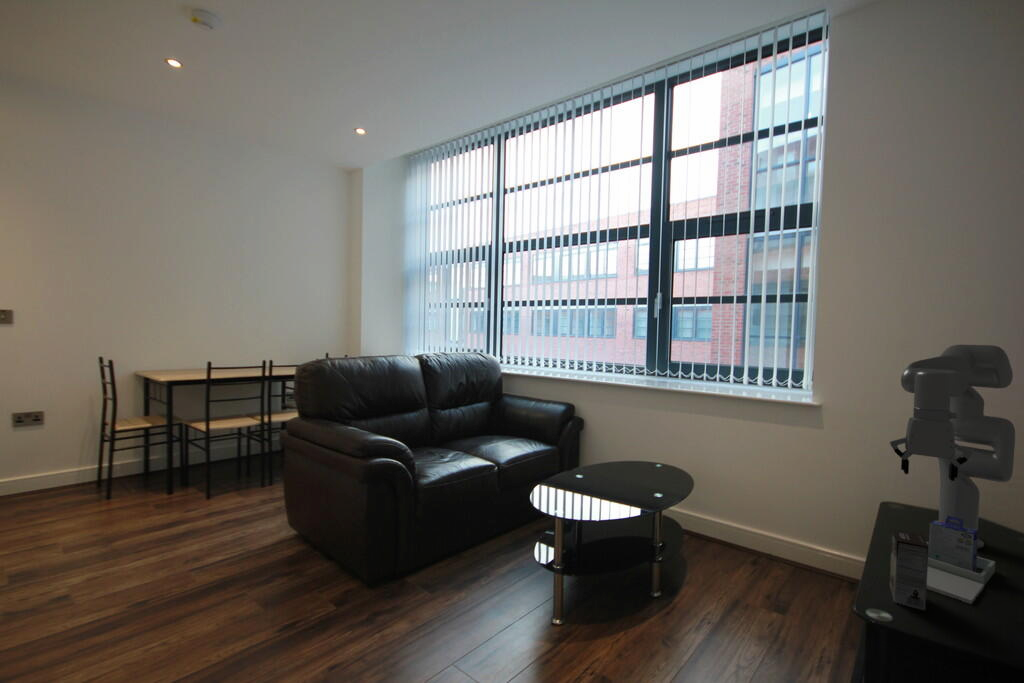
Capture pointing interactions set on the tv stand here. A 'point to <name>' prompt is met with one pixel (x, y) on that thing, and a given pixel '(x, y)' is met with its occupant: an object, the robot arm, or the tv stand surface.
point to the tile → (953, 585)
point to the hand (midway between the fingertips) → (928, 476)
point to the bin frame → (981, 563)
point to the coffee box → (909, 569)
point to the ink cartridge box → (953, 543)
